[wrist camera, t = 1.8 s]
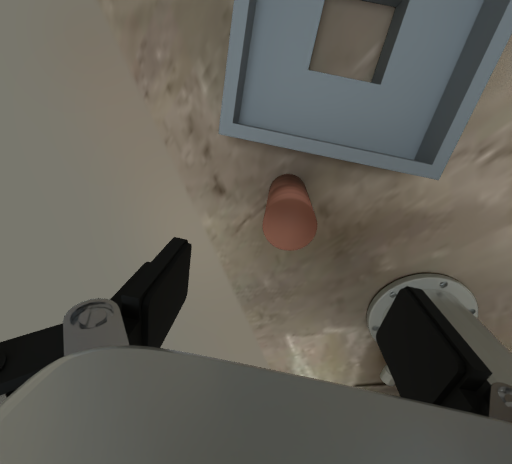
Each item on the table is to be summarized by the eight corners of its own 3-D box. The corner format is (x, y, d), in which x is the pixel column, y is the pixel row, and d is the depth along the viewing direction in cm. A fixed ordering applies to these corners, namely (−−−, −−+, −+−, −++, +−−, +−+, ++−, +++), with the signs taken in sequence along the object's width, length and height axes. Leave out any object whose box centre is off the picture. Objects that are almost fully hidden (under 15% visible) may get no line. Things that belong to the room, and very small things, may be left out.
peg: (300, 212, 28) (308, 255, 19) (266, 205, 28) (258, 244, 19) (310, 178, 27) (324, 207, 18) (273, 170, 27) (268, 195, 18)
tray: (405, 167, 25) (438, 180, 20) (232, 131, 26) (218, 133, 20) (512, -82, 18) (613, -172, 12) (268, -129, 18) (262, -237, 13)
